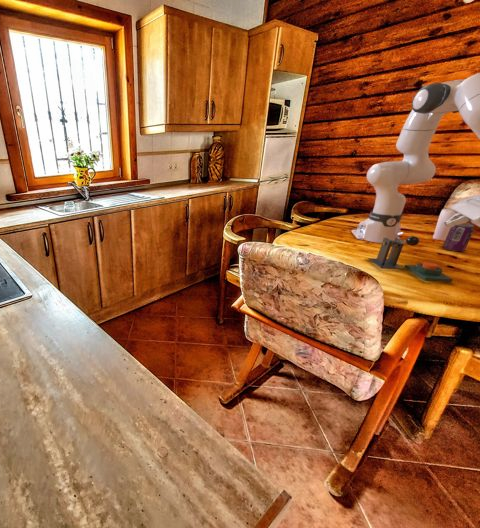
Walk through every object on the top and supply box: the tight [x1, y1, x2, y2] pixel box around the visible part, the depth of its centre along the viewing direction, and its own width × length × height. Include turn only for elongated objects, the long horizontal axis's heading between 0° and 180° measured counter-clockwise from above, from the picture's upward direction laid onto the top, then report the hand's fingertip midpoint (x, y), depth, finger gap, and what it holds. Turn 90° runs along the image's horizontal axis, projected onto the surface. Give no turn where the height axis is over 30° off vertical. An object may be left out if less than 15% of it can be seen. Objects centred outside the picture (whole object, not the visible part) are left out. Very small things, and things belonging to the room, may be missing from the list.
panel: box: [403, 263, 454, 283], centre depth 107 cm, size 12×8×4 cm, turn 165°
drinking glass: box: [432, 208, 455, 242], centre depth 138 cm, size 7×7×15 cm
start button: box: [422, 261, 439, 270], centre depth 106 cm, size 4×4×2 cm
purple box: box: [442, 222, 475, 252], centre depth 127 cm, size 7×7×12 cm
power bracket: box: [368, 237, 405, 270], centre depth 115 cm, size 10×8×12 cm
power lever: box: [390, 235, 420, 248], centre depth 108 cm, size 14×4×4 cm, turn 165°
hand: (446, 225), depth 97 cm, fingers closed
